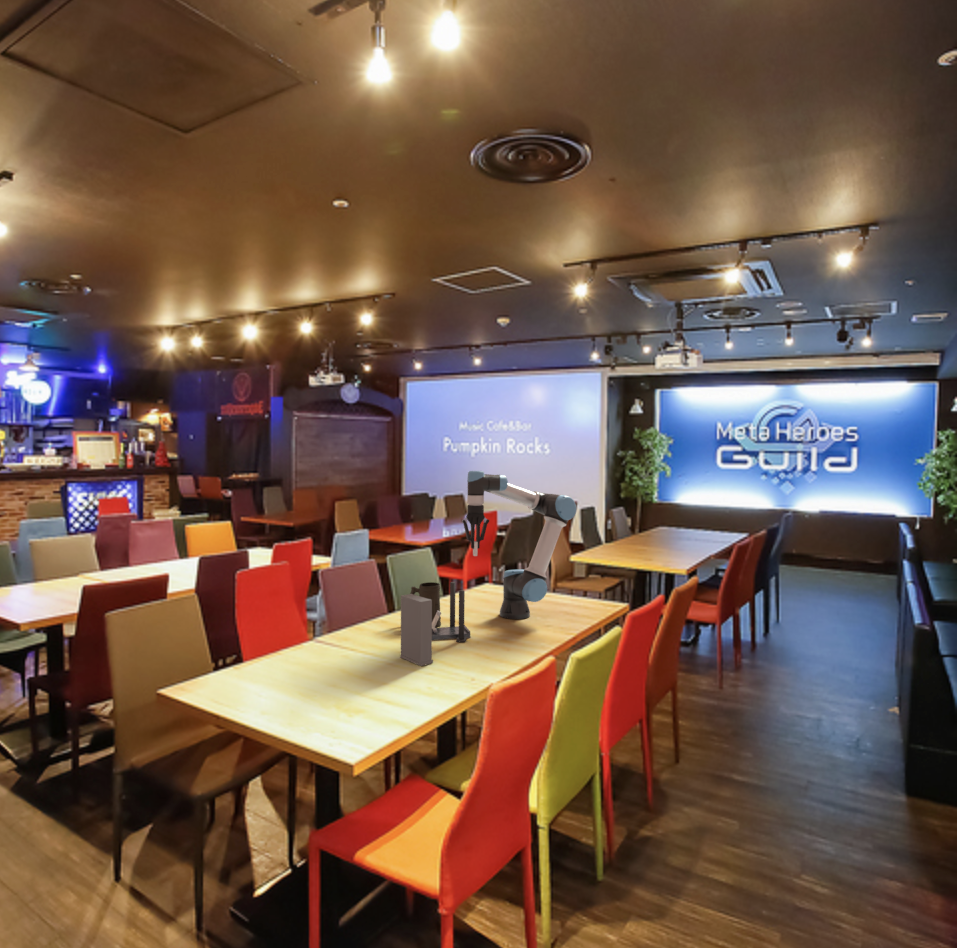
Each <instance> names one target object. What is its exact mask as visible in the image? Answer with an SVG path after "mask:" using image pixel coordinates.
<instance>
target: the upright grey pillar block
mask: <svg viewBox="0 0 958 948" xmlns="http://www.w3.org/2000/svg"><path fill="white" fill-rule="evenodd" d="M432 642H433V640H432V600H430V599H427V598H424V597H420V596H419V595H417V594H410V593H409V594H402V595H400V655H399V656H400V658H401V659H404V660H406V661H408V662H410V663H413V664H415V665H417V666H419V667H423V666H426V665H431V664H434V660H433V650H432V647H433V644H432Z"/></svg>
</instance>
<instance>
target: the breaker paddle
mask: <svg viewBox="0 0 958 948" xmlns="http://www.w3.org/2000/svg"><path fill="white" fill-rule="evenodd" d="M441 615H442V611H441V610H440V611H438V610H437V612H436V615H435V617H434V619H433V622H432V624H433V625H434V627H435V626H436V623H437V621H438V619H439V617H441ZM432 630H433V629H432Z"/></svg>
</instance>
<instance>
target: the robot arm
mask: <svg viewBox="0 0 958 948" xmlns="http://www.w3.org/2000/svg"><path fill="white" fill-rule="evenodd" d="M508 482H509V480H508V478H507V476H506V475H505V474H487V473H485V471H483V470H469V471H468V472H467V502H466V503H467V504H468V505H467V506H466V507H467V508H466V509H467V513H466V515H465V516H466V517H465V518H463V519H461V523H462V524H463V528H464V532H465V533H464V534H465V536H466V540H468V542H469V541H470V548H471V549H472V556H473V557H478V553H479V552H478V550H479V549H480V546H481V545H480V543H481V541H484V539H485V535H486V531H487V527H488V524H489V523H490V519H488V518H486V516H485V513H484V512H485V511H484V510H485V509H484V508H485V506H484V504H485V503H484V502H485V500H484V499H485V497H484V496H485V492H486V493H490V494H493V495H494V496H498V497H501V498H503V499H506V500H510V501H512V502H514V503H518V504H520V505H523V506H527V507H528V510H532V511H534V512H537V513H538V514H541V515H543V518H544V520H545V522H544V525H543V528H542V530H541V533H540V536H539V538H538V541H537V543H536V547H535V548H534V552H533V554H532V556H531V560H530V562H529V565H528V567H525V568H524V569H520V568H519V569H508V570H505V571H503V577H502V578H503V588H502V589H503V597H502V598H503V599H502V603H501V606H500V609H499V617H501V618H505V619H508V620H509V619H510V620H525V619H527V618H530V616H531V610H530V607H529V605H528V602H532V603H537V602H540V601H541V600H543V599H544V598H545V596H546V594H547V592H548V586H547V585H548V584H547V582H546V581H547V578H548V577H547V575H546V574H547V573H546V572H547V570H548V567H549V565H550V562H551V559H552V556H553V553H554V551H555V548H556V545H557V542H558V540H559V537H560V535H561V531H562V529H563V528H564V527H567V524H568V522H569V520H572V519H573V518H574V517H575V516H576V513H577V504H576V502H575V500H574V499H573V498H572V497H571V496H570V495H569V496H568V495H565V494H555V493H545V492H540V491H537V490H535V491H531V490H528V489H526V488H522V487H520V486H517V485H514V484H511V483H508ZM468 522H469V524H470V529H469V525H468ZM481 523H482V528H481ZM469 530H470V531H469Z"/></svg>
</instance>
